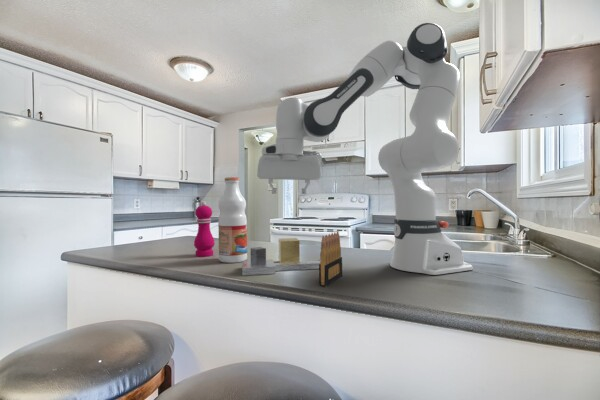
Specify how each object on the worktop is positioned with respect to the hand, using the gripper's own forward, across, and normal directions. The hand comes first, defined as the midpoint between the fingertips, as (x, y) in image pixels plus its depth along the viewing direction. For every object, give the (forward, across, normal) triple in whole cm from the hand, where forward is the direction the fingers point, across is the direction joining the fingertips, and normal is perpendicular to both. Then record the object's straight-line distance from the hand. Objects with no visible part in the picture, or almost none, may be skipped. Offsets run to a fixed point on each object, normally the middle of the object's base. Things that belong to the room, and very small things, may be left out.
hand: (289, 193), depth 94 cm
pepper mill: (+23, +30, -18) cm, 42 cm away
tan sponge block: (+22, 0, -1) cm, 22 cm away
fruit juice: (+23, +18, -8) cm, 30 cm away
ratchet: (+22, 0, +7) cm, 23 cm away
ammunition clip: (+22, -10, +20) cm, 32 cm away
